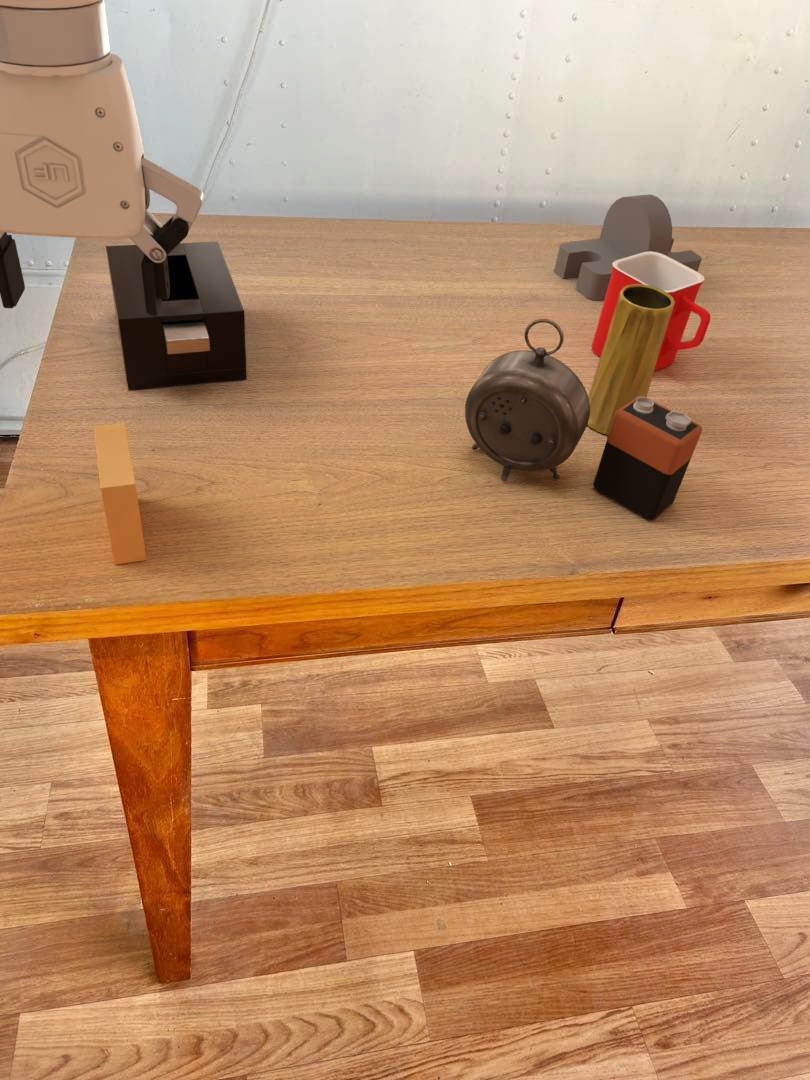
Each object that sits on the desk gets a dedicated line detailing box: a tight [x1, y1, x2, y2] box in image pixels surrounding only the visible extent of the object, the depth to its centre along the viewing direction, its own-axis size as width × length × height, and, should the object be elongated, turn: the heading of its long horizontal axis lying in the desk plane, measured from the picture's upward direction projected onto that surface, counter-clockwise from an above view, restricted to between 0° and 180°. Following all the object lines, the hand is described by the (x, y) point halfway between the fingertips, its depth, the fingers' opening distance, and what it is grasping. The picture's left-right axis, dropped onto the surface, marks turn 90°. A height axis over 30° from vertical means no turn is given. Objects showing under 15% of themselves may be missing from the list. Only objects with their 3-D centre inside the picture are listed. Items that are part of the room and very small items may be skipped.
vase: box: [587, 284, 675, 436], centre depth 87 cm, size 6×6×14 cm
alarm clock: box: [464, 318, 590, 483], centre depth 78 cm, size 11×5×16 cm, turn 65°
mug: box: [591, 251, 711, 372], centre depth 97 cm, size 12×8×11 cm
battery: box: [592, 396, 703, 521], centre depth 79 cm, size 4×7×10 cm, turn 47°
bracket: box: [553, 194, 703, 301], centre depth 114 cm, size 10×18×11 cm, turn 116°
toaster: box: [105, 240, 247, 391], centre depth 91 cm, size 12×16×8 cm
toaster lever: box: [163, 322, 210, 354], centre depth 83 cm, size 4×3×2 cm
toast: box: [93, 422, 147, 565], centre depth 69 cm, size 2×8×8 cm, turn 18°
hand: (85, 302), depth 61 cm, fingers open, 9 cm apart
